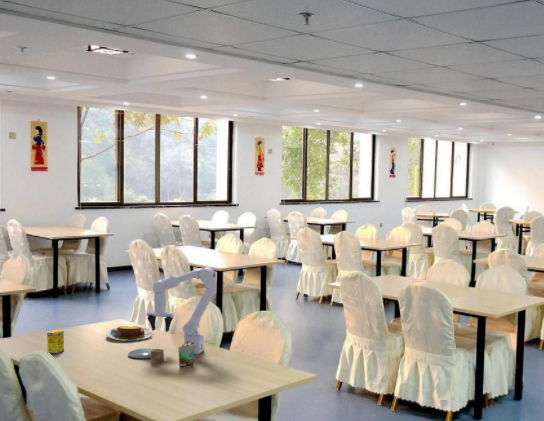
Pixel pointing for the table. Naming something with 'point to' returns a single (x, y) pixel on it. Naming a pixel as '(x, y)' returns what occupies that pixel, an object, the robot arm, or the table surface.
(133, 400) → the table surface
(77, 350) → the table surface
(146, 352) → the slate dish
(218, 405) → the table surface
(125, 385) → the table surface
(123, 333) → the food on plate
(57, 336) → the supplement box
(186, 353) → the food container
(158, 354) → the walnut block
